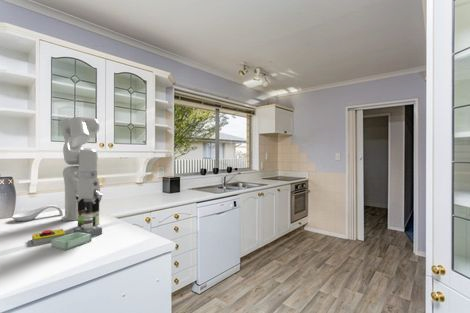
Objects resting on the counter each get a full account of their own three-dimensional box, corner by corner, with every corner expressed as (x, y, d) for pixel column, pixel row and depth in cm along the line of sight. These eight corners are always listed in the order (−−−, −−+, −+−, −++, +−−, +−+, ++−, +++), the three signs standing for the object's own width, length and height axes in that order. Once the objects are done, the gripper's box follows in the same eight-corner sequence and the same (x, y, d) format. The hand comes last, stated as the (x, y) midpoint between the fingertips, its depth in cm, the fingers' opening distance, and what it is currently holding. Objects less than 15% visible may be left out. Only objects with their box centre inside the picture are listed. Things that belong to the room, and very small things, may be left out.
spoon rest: (12, 224, 133) (12, 211, 133) (11, 220, 141) (11, 208, 141) (64, 216, 150) (64, 205, 150) (60, 213, 158) (60, 202, 158)
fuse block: (87, 231, 122) (87, 223, 122) (102, 233, 118) (102, 225, 118) (74, 235, 115) (74, 227, 115) (88, 238, 111) (88, 230, 111)
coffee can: (86, 229, 124) (86, 202, 124) (73, 227, 128) (73, 200, 128) (104, 224, 133) (104, 198, 133) (91, 222, 137) (91, 197, 137)
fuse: (89, 232, 119) (89, 214, 119) (94, 233, 117) (94, 215, 117) (81, 235, 115) (81, 216, 115) (87, 236, 114) (87, 217, 114)
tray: (77, 238, 111) (77, 231, 111) (91, 241, 108) (91, 234, 108) (51, 246, 101) (51, 239, 101) (66, 250, 98) (66, 242, 98)
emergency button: (27, 232, 108) (67, 225, 118) (27, 241, 108) (67, 234, 118) (29, 237, 101) (71, 229, 112) (29, 247, 101) (71, 239, 112)
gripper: (108, 175, 116) (108, 210, 116) (83, 174, 123) (83, 208, 123) (93, 176, 109) (93, 214, 109) (68, 175, 116) (68, 211, 116)
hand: (88, 210), depth 116 cm, fingers open, 9 cm apart
